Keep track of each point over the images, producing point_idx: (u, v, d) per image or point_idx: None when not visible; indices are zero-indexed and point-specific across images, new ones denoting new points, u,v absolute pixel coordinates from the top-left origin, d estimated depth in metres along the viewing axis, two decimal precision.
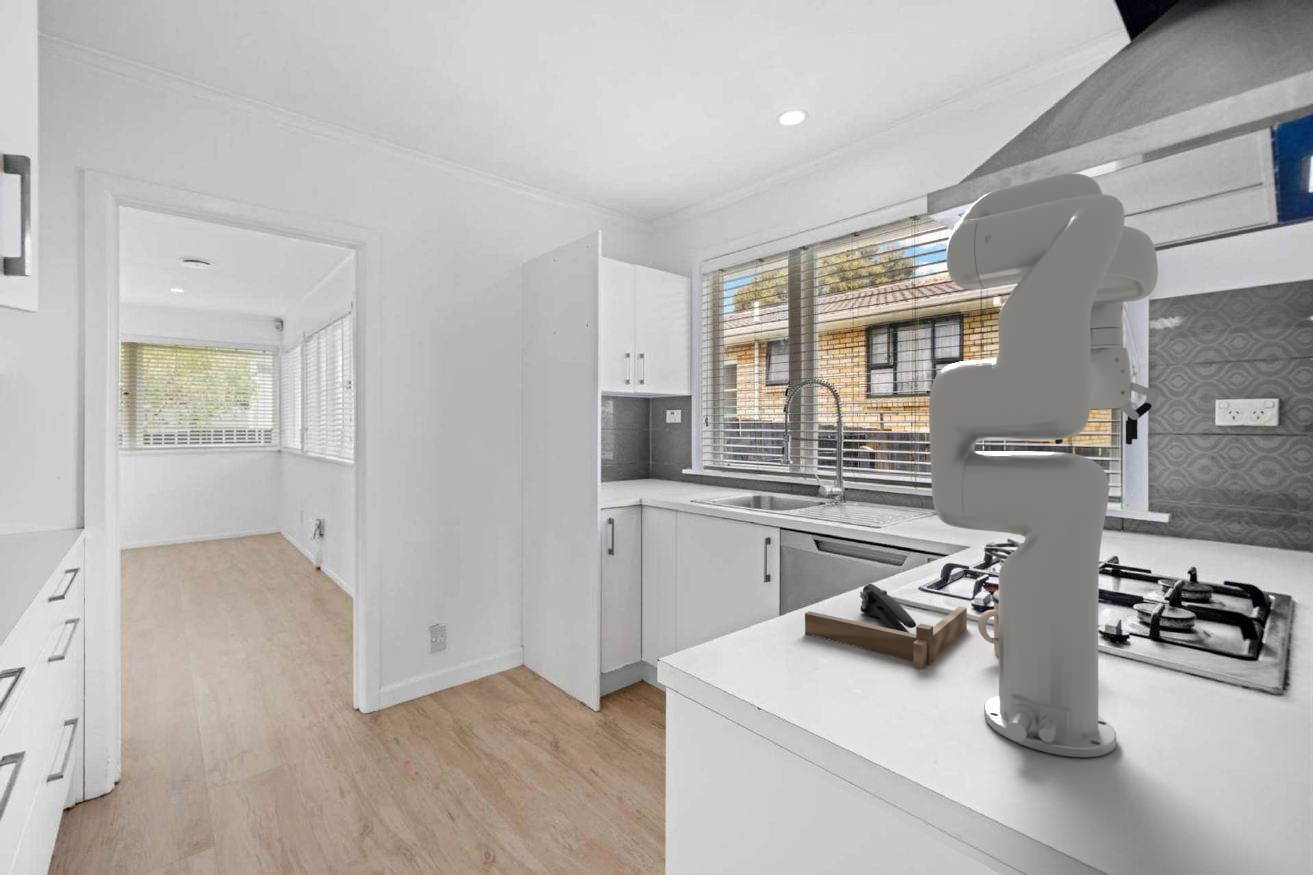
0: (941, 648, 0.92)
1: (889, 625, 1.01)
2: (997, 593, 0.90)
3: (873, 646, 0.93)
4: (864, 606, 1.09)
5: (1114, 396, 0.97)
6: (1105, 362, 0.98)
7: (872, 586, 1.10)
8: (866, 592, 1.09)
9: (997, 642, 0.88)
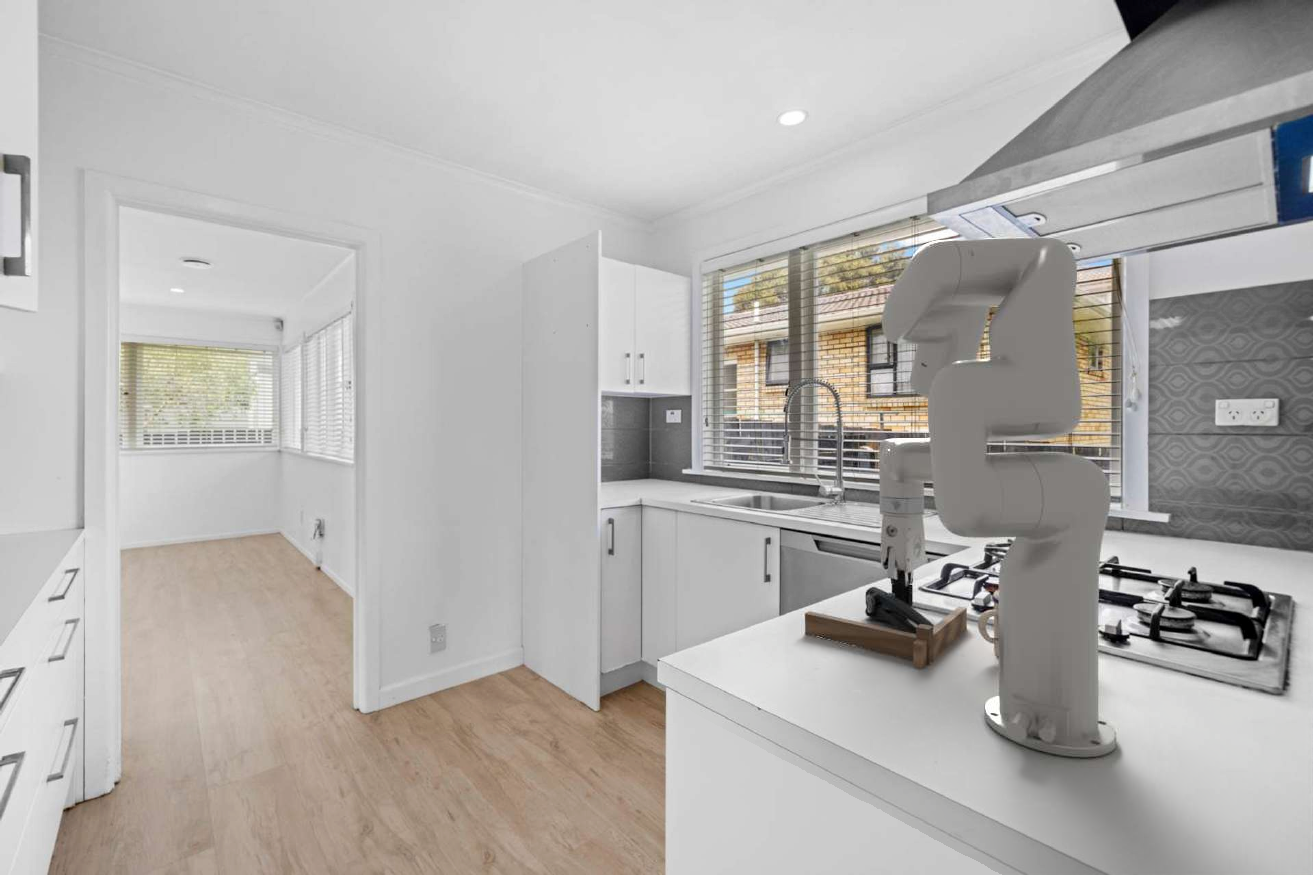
0: (941, 648, 0.92)
1: (904, 629, 0.98)
2: (997, 593, 0.90)
3: (873, 646, 0.93)
4: (870, 610, 1.06)
5: (923, 555, 1.10)
6: (920, 526, 1.09)
7: (877, 589, 1.08)
8: (872, 596, 1.06)
9: (997, 642, 0.88)
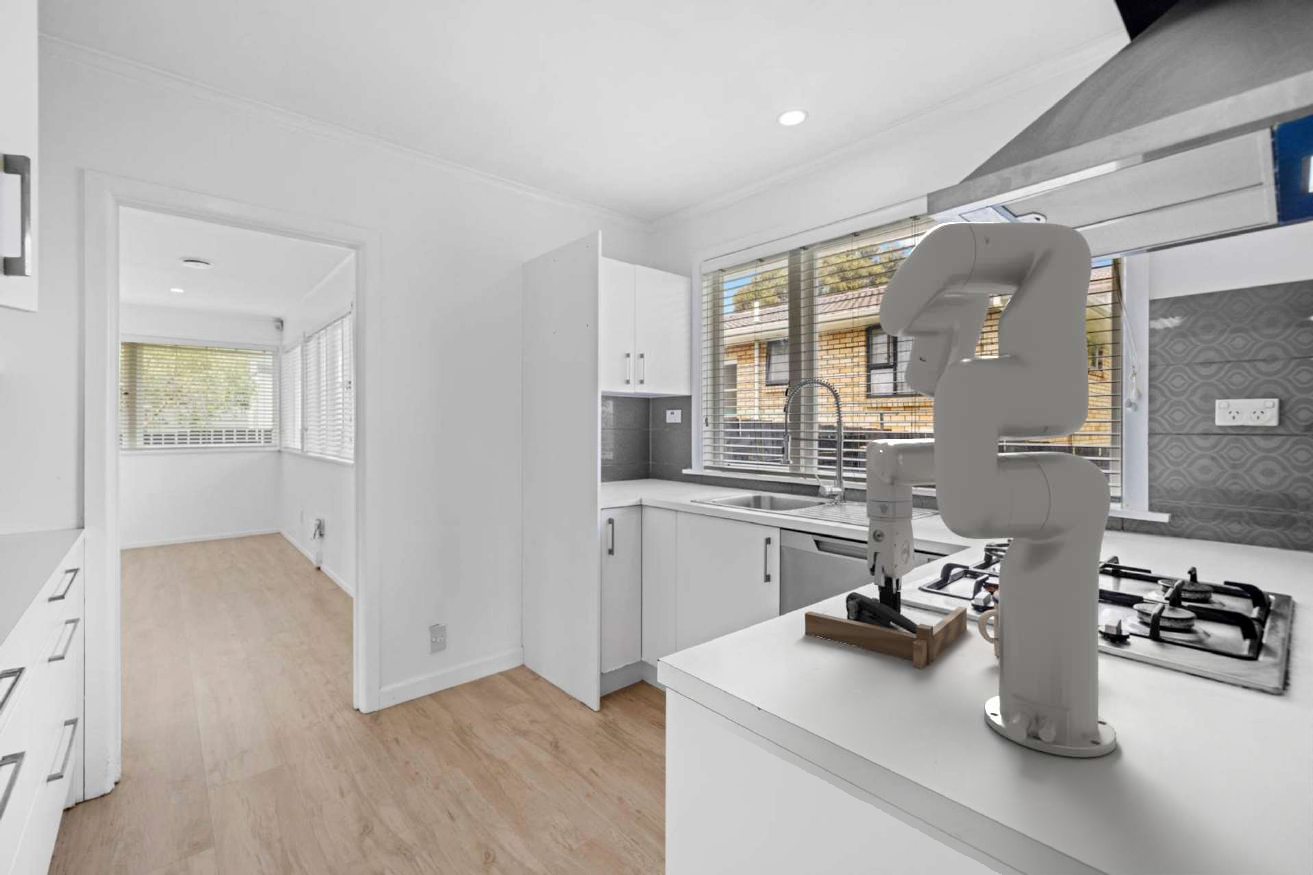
0: (941, 648, 0.92)
1: None
2: (997, 593, 0.90)
3: (873, 646, 0.93)
4: (853, 617, 1.03)
5: (912, 561, 1.06)
6: (909, 530, 1.05)
7: (858, 594, 1.05)
8: (855, 602, 1.03)
9: (997, 642, 0.88)
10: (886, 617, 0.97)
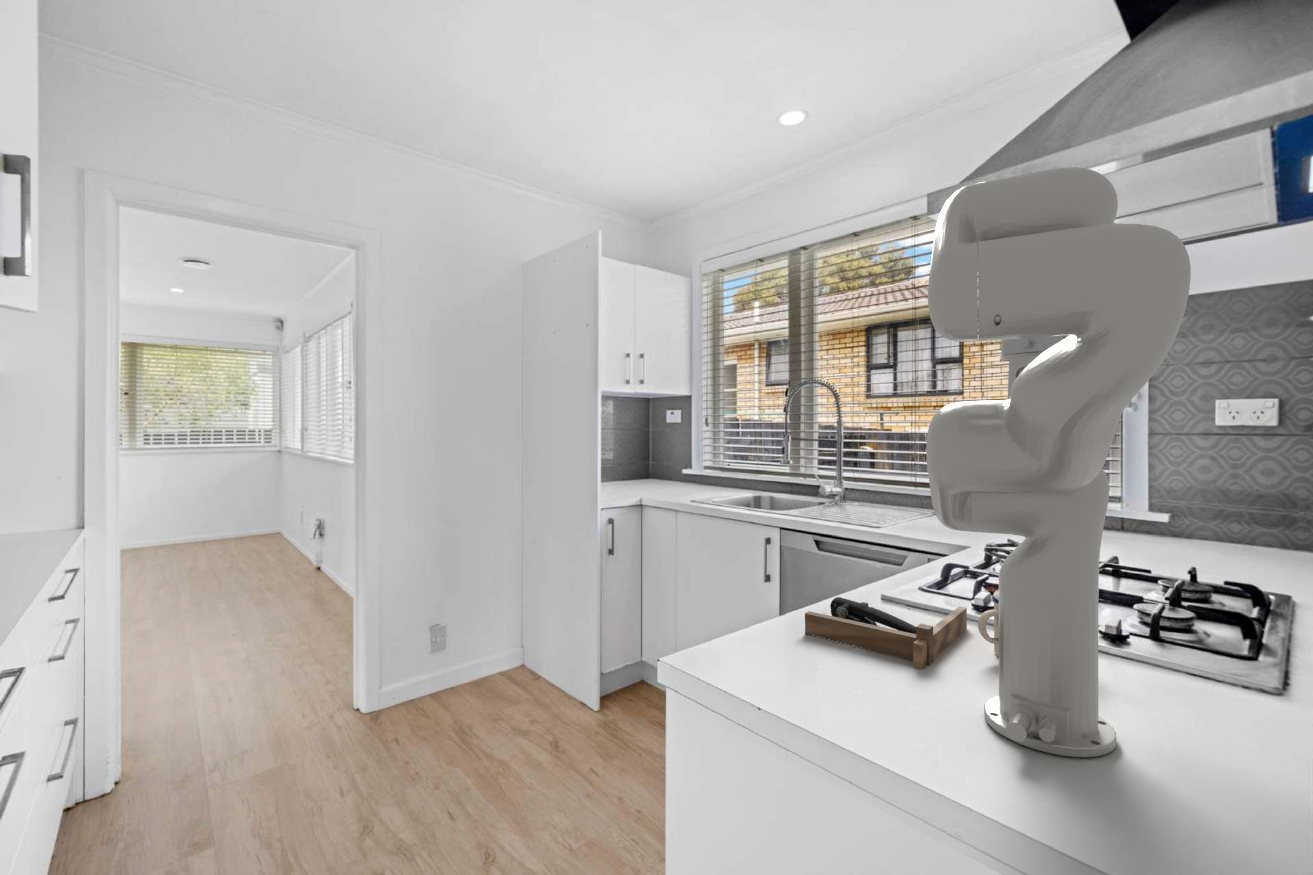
0: (941, 648, 0.92)
1: None
2: (997, 593, 0.90)
3: (873, 646, 0.93)
4: None
5: None
6: None
7: (844, 599, 1.03)
8: (844, 607, 1.00)
9: (997, 642, 0.88)
10: (882, 621, 0.96)
